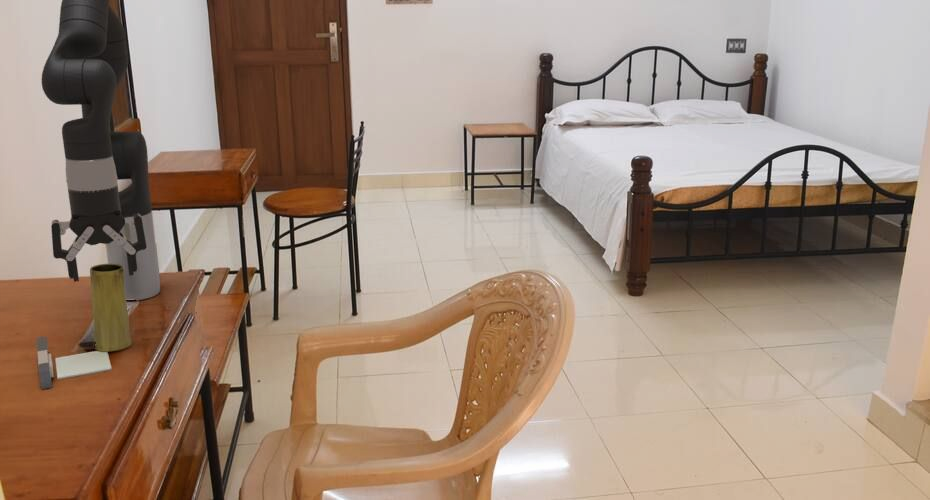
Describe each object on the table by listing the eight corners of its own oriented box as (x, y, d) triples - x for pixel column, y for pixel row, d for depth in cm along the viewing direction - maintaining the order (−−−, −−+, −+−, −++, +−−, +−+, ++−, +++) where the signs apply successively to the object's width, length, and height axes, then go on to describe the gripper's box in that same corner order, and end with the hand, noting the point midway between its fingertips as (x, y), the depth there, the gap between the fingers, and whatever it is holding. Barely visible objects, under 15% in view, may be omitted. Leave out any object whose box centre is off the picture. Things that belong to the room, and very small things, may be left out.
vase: (118, 353, 137) (111, 274, 133) (86, 349, 138) (78, 270, 134) (138, 341, 142) (133, 264, 139) (108, 337, 144) (101, 261, 140)
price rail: (39, 354, 137) (36, 336, 136) (51, 352, 138) (48, 334, 137) (41, 389, 125) (38, 370, 124) (54, 387, 126) (52, 368, 125)
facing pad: (55, 359, 135) (55, 358, 135) (106, 350, 139) (106, 349, 138) (57, 379, 128) (57, 378, 128) (111, 369, 132) (111, 368, 132)
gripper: (43, 192, 125) (57, 289, 130) (140, 185, 131) (150, 278, 136) (44, 182, 131) (58, 275, 136) (137, 176, 137) (147, 265, 142)
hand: (104, 277), depth 136 cm, fingers open, 8 cm apart
